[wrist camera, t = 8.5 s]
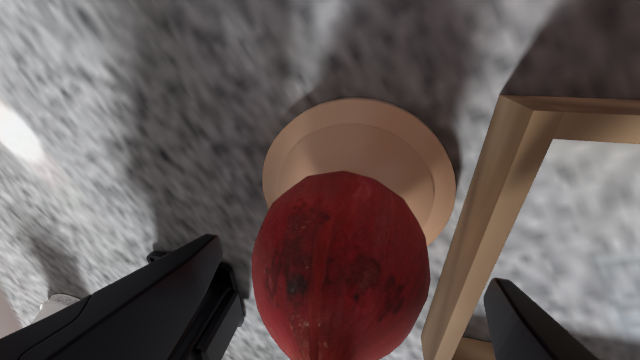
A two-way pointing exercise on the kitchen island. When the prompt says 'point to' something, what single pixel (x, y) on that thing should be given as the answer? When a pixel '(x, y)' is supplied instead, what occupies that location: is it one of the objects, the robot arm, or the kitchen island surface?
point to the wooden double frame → (509, 202)
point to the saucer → (366, 155)
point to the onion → (340, 269)
